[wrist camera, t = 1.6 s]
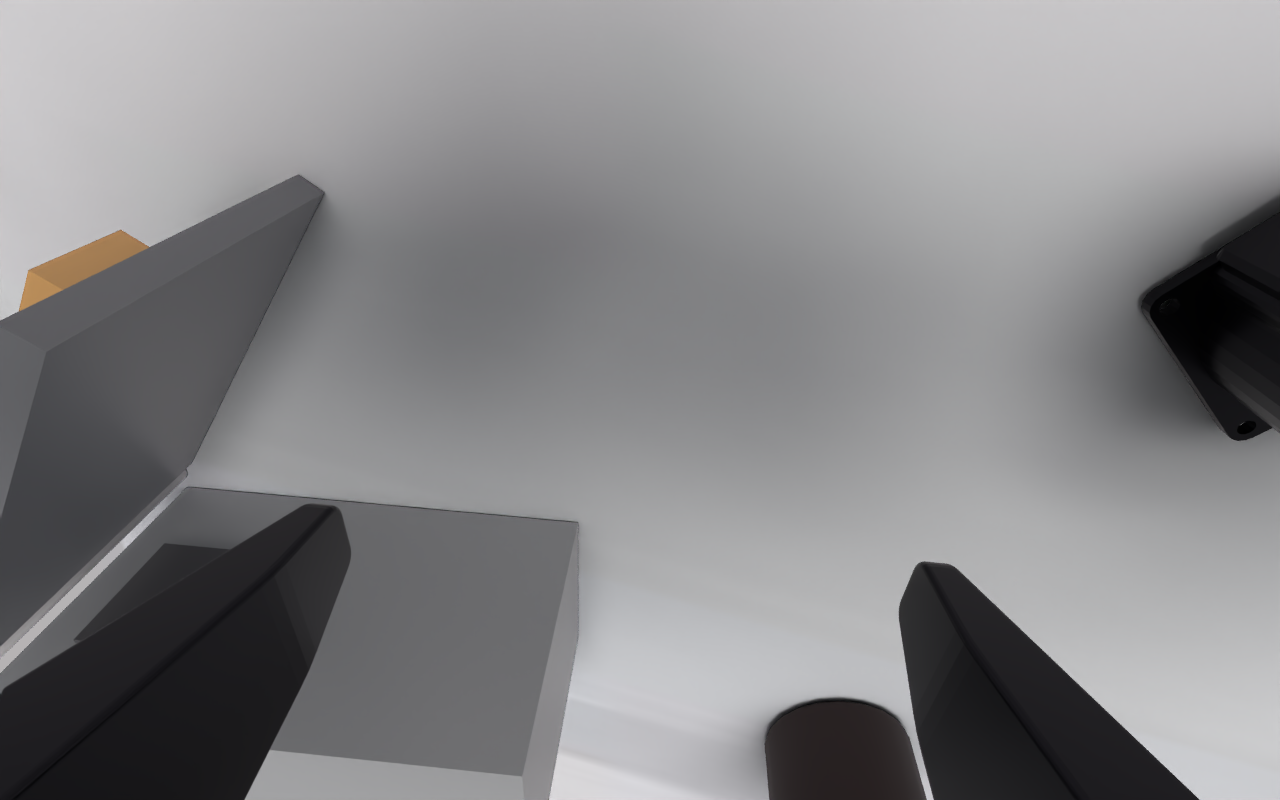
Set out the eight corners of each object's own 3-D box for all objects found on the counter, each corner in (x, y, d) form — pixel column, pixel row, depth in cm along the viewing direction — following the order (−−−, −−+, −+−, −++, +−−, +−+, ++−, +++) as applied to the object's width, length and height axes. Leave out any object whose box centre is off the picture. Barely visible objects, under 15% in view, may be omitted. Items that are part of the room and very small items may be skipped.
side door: (183, 482, 25) (-51, 712, 17) (130, 455, 25) (-137, 680, 17) (325, 193, 19) (49, 353, 11) (257, 146, 18) (-89, 278, 10)
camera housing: (578, 520, 25) (510, 823, 16) (578, 637, 29) (524, 934, 20) (186, 484, 25) (-92, 759, 17) (238, 604, 29) (37, 879, 20)
